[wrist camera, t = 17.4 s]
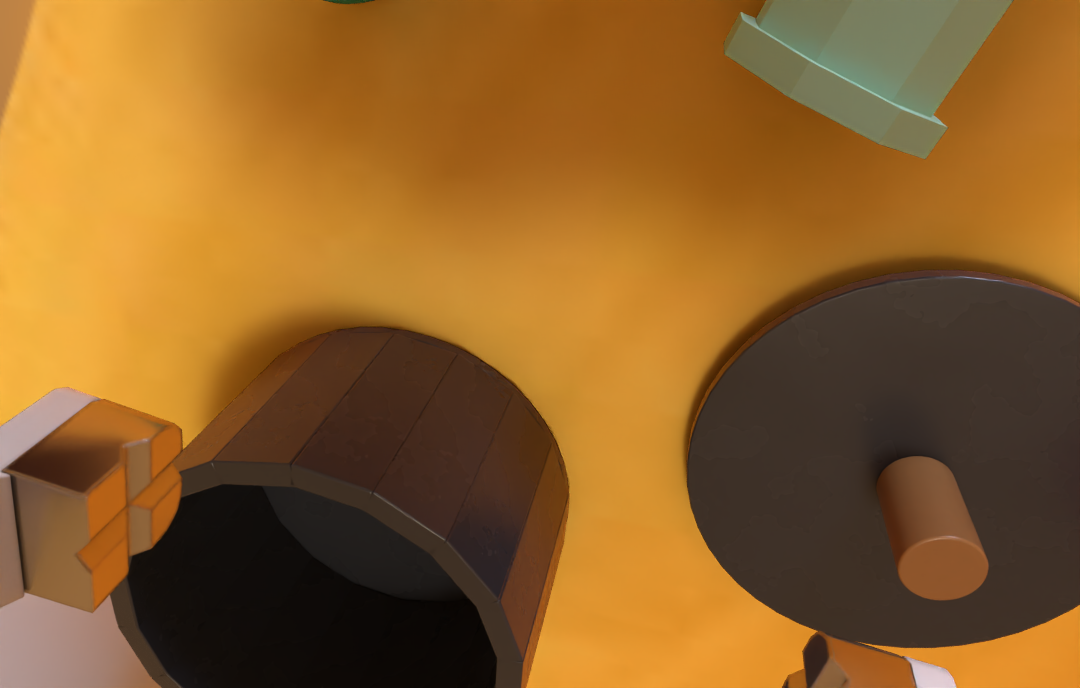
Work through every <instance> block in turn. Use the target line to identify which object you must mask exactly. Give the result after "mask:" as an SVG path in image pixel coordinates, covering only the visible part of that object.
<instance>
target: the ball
mask: <svg viewBox="0 0 1080 688" xmlns="http://www.w3.org/2000/svg"><path fill="white" fill-rule="evenodd" d="M324 1H328V2H333V3H340V4H355V3H365V2H369V1H373V0H324Z"/></svg>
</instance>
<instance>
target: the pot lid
mask: <svg viewBox="0 0 1080 688" xmlns="http://www.w3.org/2000/svg"><path fill="white" fill-rule="evenodd" d="M687 488H688V493H689V499H690V505H691V509H692V512H693V515H694V518H695V520H696V523H697V526H698V529H699V531H700V533H701V534H702V536H703V538H704V540H705V542H706V544H707V546H708V548H709V549H710V551H711V552H712V553H713V555H714V556H715V558H716V559H717V560H718V562H719V563H720V565H721V566H722V567H723V568H724V569H725V570H726V572H727V573H728V574H729V575H730V576H731V577H732V578H733V579H734V580H735V581H736V582H737V583H738V584H739V585H740V586H741V587H743V588H744V589H745V590H746V591H747V592H749V593H750V594H751V595H752V596H753V597H755V598H756V599H757V600H759V601H760V602H762V603H763V604H765V605H766V606H768V607H769V608H771V609H773V610H774V611H776V612H777V613H779V614H781V615H783V616H785V617H787V618H789V619H791V620H793V621H795V622H797V623H799V624H801V625H804V626H806V627H809V628H812V629H814V630H817V631H819V630H820V631H823V632H826V633H830V634H833V635H836V636H839V637H842V638H846V639H849V640H852V641H856V642H861V643H867V644H872V645H879V646H890V647H901V648H937V647H949V646H960V645H967V644H972V643H978V642H984V641H989V640H994V639H997V638H1001V637H1004V636H1008V635H1012V634H1015V633H1019V632H1022V631H1024V630H1027V629H1030V628H1032V627H1035V626H1038V625H1040V624H1043V623H1046V622H1048V621H1050V620H1052V619H1054V618H1056V617H1058V616H1060V615H1062V614H1064V613H1066V612H1068V611H1070V610H1072V609H1074V608H1075V607H1077V606H1078V605H1080V303H1078V302H1076V301H1074V300H1072V299H1070V298H1068V297H1067V296H1065V295H1063V294H1061V293H1058V292H1055V291H1053V290H1050V289H1047V288H1045V287H1042V286H1039V285H1037V284H1034V283H1031V282H1028V281H1024V280H1019V279H1015V278H1011V277H1007V276H1002V275H998V274H992V273H983V272H974V271H965V270H920V271H912V272H903V273H895V274H887V275H883V276H879V277H874V278H870V279H865V280H861V281H857V282H853V283H850V284H847V285H845V286H842V287H839V288H836V289H833V290H830V291H828V292H825V293H822V294H820V295H818V296H816V297H814V298H812V299H810V300H808V301H806V302H803V303H801V304H799V305H797V306H795V307H793V308H792V309H790V310H789V311H787V312H785V313H784V314H782V315H781V316H779V317H778V318H776V319H774V320H773V321H771V322H770V323H768V324H767V325H766V326H764V327H763V328H762V329H761V330H759V331H758V332H757V333H756V334H755V335H753V336H752V337H751V338H750V339H749V340H747V341H746V342H745V343H744V344H743V345H742V346H741V347H740V348H739V349H738V350H737V351H736V352H735V354H734V355H733V356H732V357H731V358H730V359H729V360H728V361H727V362H726V363H725V364H724V366H723V367H722V369H721V370H720V372H719V373H718V374H717V376H716V377H715V379H714V380H713V382H712V383H711V384H710V386H709V388H708V390H707V392H706V394H705V396H704V398H703V400H702V402H701V404H700V406H699V408H698V411H697V414H696V417H695V420H694V423H693V426H692V429H691V434H690V440H689V446H688V453H687Z"/></svg>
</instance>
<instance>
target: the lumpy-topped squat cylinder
mask: <svg viewBox="0 0 1080 688" xmlns="http://www.w3.org/2000/svg"><path fill="white" fill-rule="evenodd" d="M24 594H25V596H24V597H23V598H21V599H19V600H16V601H14V602H12V603H10V604H8V605H6V606H4V607H2V608H0V688H161V687H160V686H159V685H158V684H157V683H156V682H155V681H154V680H153V679H152V677H150V676H149V674H148V673H147V671H146V670H145V668H144V666H143V665H142V663H141V662H140V660H139V659H138V657H137V656H136V654H135V653H134V651H133V650H132V648H131V646H130V645H129V643H128V642H127V640H126V639H125V637H124V636H123V634H122V633H121V631H120V629H119V628H118V625H117V622H116V618H115V614H114V610H113V606H112V602H111V598H110V595H109V596H108V597H107V598H106V599H105V600H104V602H103V603H102V604H101V605H100V606H99V607H98V608H97V609H96V610H95V611H94V612H93V613H90V612H87V611H83V610H80V609H77V608H73V607H70V606H67V605H64V604H60V603H57V602H54V601H51V600H47V599H44V598H41V597H38V596H34V595H31V594H28V593H24Z"/></svg>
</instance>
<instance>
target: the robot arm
mask: <svg viewBox="0 0 1080 688" xmlns="http://www.w3.org/2000/svg"><path fill="white" fill-rule="evenodd" d="M182 451H183V444H182V429H181V428H179V427H178V426H177V425H176V424H175V423H172V422H169V421H166V420H163V419H160V418H157V417H155V416H152V415H149V414H146V413H143V412H140V411H137V410H134V409H132V408H129V407H126V406H123V405H120V404H117V403H114V402H111V401H109V400H106V399H100V398H97V397H94V396H91V395H89V394H86V393H83V392H80V391H77V390H75V389H72V388H69V387H65V388H59V389H54V390H52V391H51V392H49V393H48V394H47V395H45V396H44V397H42V398H41V399H39V400H38V401H36V402H35V403H34V404H32V405H31V406H29V407H28V408H26V409H25V410H24V411H22V412H21V413H19V414H18V415H16V416H15V417H13V418H12V419H11V420H9V421H8V422H6V423H5V424H3V425H2V426H1V427H0V608H2V607H4V606H6V605H8V604H10V603H12V602H14V601H16V600H19V599H21V598H23V597H24V596H25V594H24V593H28V594H31V595H34V596H38V597H41V598H44V599H47V600H51V601H54V602H57V603H60V604H64V605H67V606H70V607H73V608H77V609H80V610H83V611H87V612H90V613H93V612H94V611H95V610H96V609H97V608H98V607H99V606H100V605H101V604H102V603H103V602H104V600H105V599H106V598H107V597H108V596H109V595H110V594H111V593H112V592H113V591H114V590H115V588H116V587H117V586H118V585H119V584H120V583H121V582H122V581H123V580H124V579H125V578H126V576H127V575H128V574H129V557H130V556H133V555H136V554H138V553H141V552H144V551H146V550H149V549H152V548H153V547H154V545H155V544H156V543H157V542H158V541H159V540H160V539H161V537H162V536H163V535H164V534H165V533H166V531H167V530H168V528H169V526H170V524H171V522H172V520H173V518H174V516H175V514H176V513H177V511H178V507H179V503H180V499H181V495H182V477H181V475H180V474H179V472H178V471H177V469H176V467H175V466H174V464H173V463H172V461H173V460H174V459H175V458H176V457H177V456H178V455H179V454H180V453H181V452H182ZM802 652H803V662H804V669H802V670H800V671H797V672H795V673H793V674H790V675H788V677H787V679H786V680H785V682H784V684H783V686H782V688H956V685H955V682H954V679H953V677H952V676H951V674H950V673H949V672H948V671H947V669H945V668H941V667H938V666H935V665H931V664H928V663H925V662H922V661H918V660H915V659H912V658H908V657H905V656H902V657H901V656H899V655H897V654H894V653H890V652H887V651H884V650H881V649H878V648H874V647H871V646H868V645H865V644H862V643H858V642H855V641H852V640H849V639H846V638H842V637H839V636H836V635H833V634H830V633H826V632H823V631H820V630H819V631H818V632H816V633H815V634H814V635H813V636H811V638H810V639H809V641H808V643H807V644H806V646H805V647H804V649H803V651H802Z"/></svg>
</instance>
